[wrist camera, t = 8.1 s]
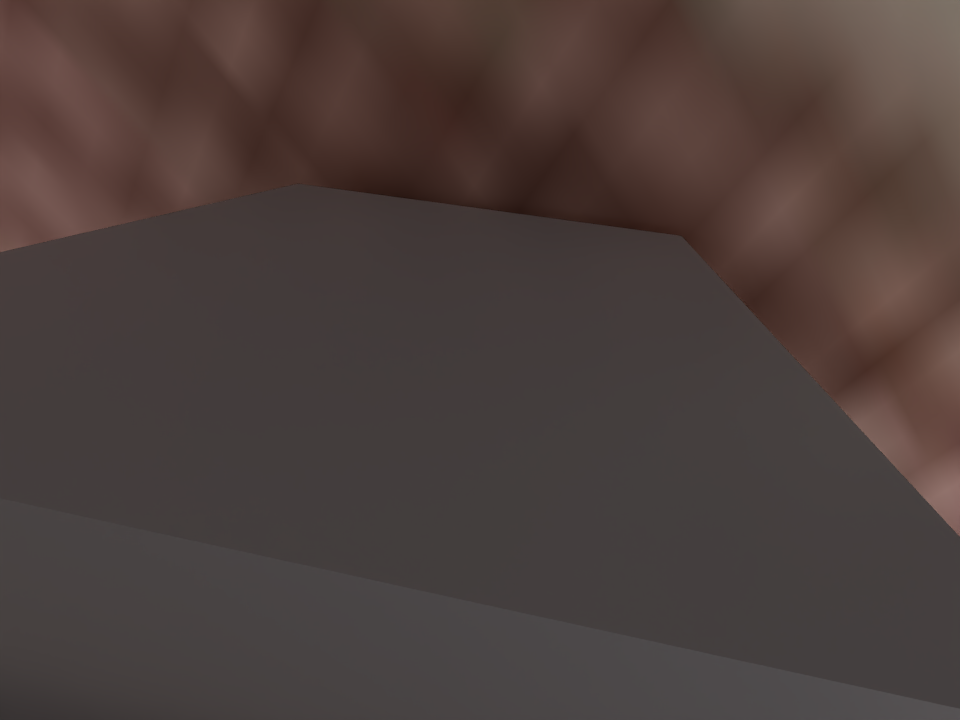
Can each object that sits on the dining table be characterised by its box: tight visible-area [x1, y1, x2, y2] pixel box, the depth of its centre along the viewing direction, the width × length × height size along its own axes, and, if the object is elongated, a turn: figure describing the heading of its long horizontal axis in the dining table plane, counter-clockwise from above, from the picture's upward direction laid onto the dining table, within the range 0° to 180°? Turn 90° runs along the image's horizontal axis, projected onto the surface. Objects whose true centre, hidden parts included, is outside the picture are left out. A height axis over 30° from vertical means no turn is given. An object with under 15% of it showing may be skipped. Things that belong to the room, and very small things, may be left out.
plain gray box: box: [0, 184, 960, 720], centre depth 8 cm, size 10×8×9 cm
